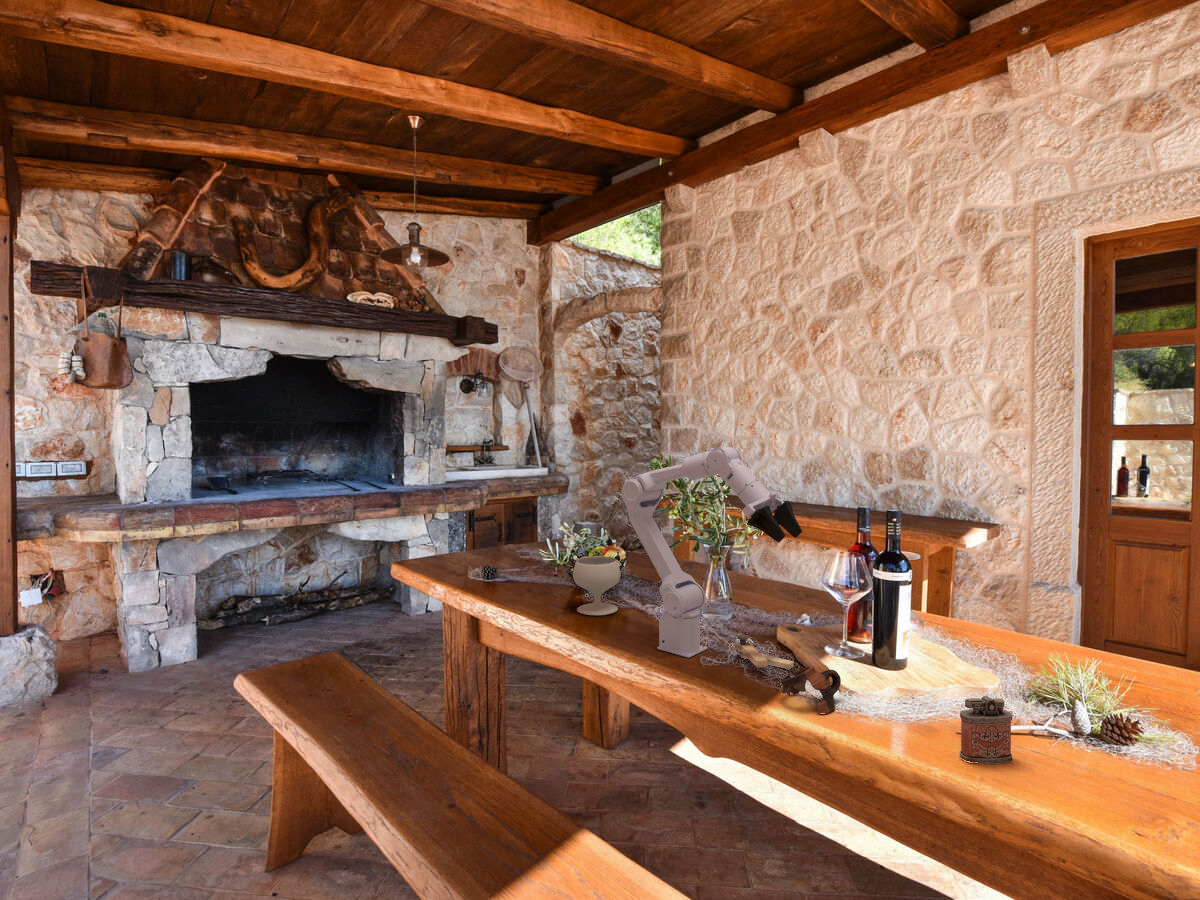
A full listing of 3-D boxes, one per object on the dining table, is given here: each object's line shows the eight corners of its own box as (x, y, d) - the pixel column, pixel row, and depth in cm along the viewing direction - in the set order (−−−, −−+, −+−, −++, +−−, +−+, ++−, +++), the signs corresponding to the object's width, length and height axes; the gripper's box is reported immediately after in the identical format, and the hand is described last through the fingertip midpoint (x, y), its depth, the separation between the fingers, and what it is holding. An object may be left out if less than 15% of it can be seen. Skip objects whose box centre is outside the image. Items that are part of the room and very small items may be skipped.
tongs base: (733, 657, 152) (733, 636, 151) (740, 653, 154) (740, 633, 154) (787, 671, 142) (787, 649, 142) (794, 667, 145) (794, 646, 145)
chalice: (573, 618, 184) (572, 566, 183) (573, 604, 198) (572, 555, 197) (622, 616, 185) (621, 564, 184) (619, 603, 199) (618, 554, 198)
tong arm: (734, 647, 152) (734, 641, 152) (749, 646, 152) (749, 640, 152) (754, 667, 140) (754, 661, 139) (770, 666, 140) (770, 660, 140)
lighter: (1003, 752, 107) (1003, 692, 106) (1017, 763, 103) (1017, 701, 103) (955, 754, 106) (955, 694, 106) (967, 765, 103) (967, 703, 103)
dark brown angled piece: (812, 723, 119) (790, 680, 122) (787, 725, 128) (767, 684, 130) (860, 695, 124) (838, 654, 126) (833, 699, 132) (813, 660, 134)
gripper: (743, 479, 135) (786, 528, 129) (776, 475, 146) (818, 520, 139) (722, 501, 139) (764, 551, 132) (757, 496, 149) (796, 541, 143)
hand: (790, 537), depth 136 cm, fingers open, 7 cm apart
